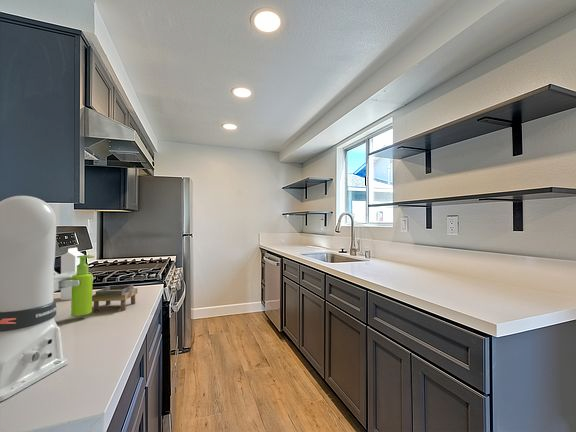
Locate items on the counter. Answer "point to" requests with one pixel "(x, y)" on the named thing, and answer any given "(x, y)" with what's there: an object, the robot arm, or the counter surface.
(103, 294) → the stool
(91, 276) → the soap dispenser
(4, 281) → the robot arm
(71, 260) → the milk
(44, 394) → the counter surface
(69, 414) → the counter surface
